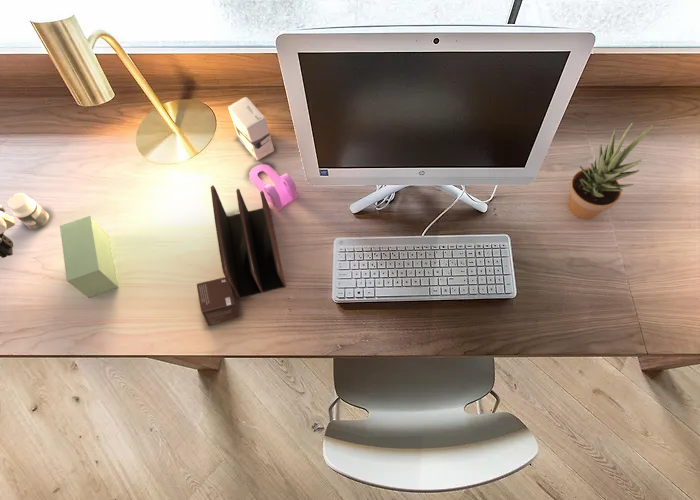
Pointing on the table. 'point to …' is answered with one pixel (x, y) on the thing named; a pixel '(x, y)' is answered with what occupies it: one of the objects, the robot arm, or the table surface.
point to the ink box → (251, 128)
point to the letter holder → (248, 248)
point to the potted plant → (601, 180)
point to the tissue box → (88, 257)
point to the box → (217, 301)
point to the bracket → (280, 192)
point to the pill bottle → (28, 211)
